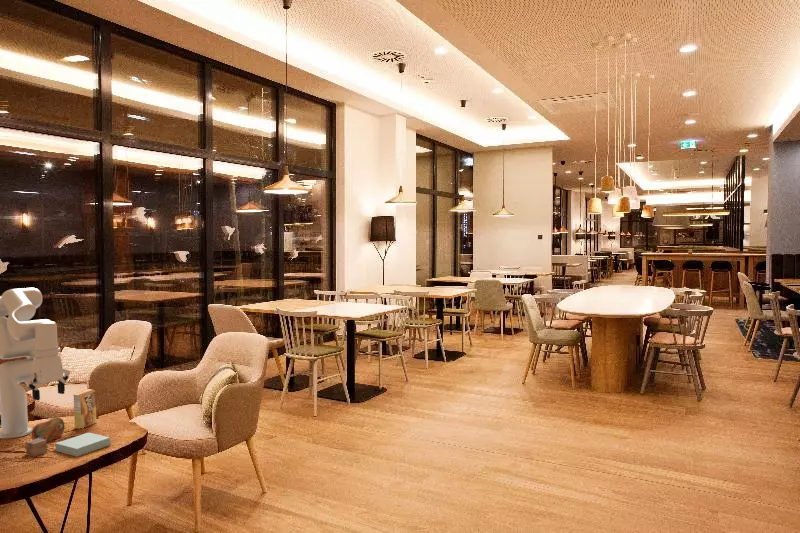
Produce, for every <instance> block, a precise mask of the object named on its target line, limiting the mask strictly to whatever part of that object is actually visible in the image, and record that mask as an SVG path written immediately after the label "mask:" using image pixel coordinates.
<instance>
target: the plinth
mask: <svg viewBox="0 0 800 533" xmlns="http://www.w3.org/2000/svg"><path fill="white" fill-rule="evenodd" d="M110 445H111V437H109V436H105V435H102V434H101V435H100V434H97V433H92V432H85V433H83V434H79V435H77V436H74V437H70V438H67V439H64V440H61V441H59V442H55V443H54V446H55V452H59V453H63V454H67V455H70V456H73V457H79V456H83V455H86V454H89V453H91V452H94V451H96V450H100V449H102V448H106V447H109V446H110ZM88 452H89V453H88ZM85 453H86V454H85ZM82 454H83V455H82Z"/></svg>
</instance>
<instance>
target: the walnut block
mask: <svg viewBox="0 0 800 533" xmlns="http://www.w3.org/2000/svg"><path fill="white" fill-rule="evenodd" d="M47 444H48V442H47V443H46V440H44V439H41V438H38V439H34V440H32V439H31V440H28V441H25V450H26V452H25V453H26V456H27V455H28V456H31V457H36V456H40V455H43V454H45V453H48V448H47Z"/></svg>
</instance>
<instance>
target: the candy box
mask: <svg viewBox="0 0 800 533" xmlns="http://www.w3.org/2000/svg"><path fill="white" fill-rule="evenodd" d="M96 400H97V399H96V389H90V388H89V389H85V390H83V391H80V392H76V393H74V394H73V411H74V412H73V414H74V415H73V417H74V429H80V428H82V429H85V428H86V427H89V426H92V425H94V424H96V423H97V402H96ZM84 427H85V428H84Z"/></svg>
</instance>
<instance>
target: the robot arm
mask: <svg viewBox="0 0 800 533" xmlns="http://www.w3.org/2000/svg"><path fill="white" fill-rule="evenodd" d="M42 303H43V295H42V292H41V291H40V289H38V288H35V287H26V288H25V287H24V288H23V287H22V288H20V287H19V288H10V289H8V290H6V291H4V292H3V293H2V295H0V360H11V359H17V358H23V357H25V358H26V359H18V360H12V361H6V362H3V363H1V364H0V420H1V421H0V429H1V431H0V439H3V440H4V439H5V440H7V439H16V438H21V437H24V436H27V435H29V434H32V430H33V427H30V426H29V422H28V421H29V419H28V418H29V417H28V398H27V397H28V396H27V391H26V390H25V388H24V387H23V386H21V385H20V383H25V384H26V387H27V388H29V389H30V390H31V392H32V395H31V396H32V399H33V400H34V401H40V400H41V397H40V395H41V394H40V393H41V392H40V389H39V388H40V387H41V385H44V384H48V383H53V382H58V383H57V393H58V394H61V395H64V394H65V392H66V388H65V384H66V383H67V381H68V379H69V377H70V374H71V370H68V369H65V368H63V363H62V359H61V355H60V354H59V352H61V351H62V348H60V347H59V345H58V344H59V342H58V325H57V324H58V323H56V322H55V321H52V320H51V319H47V318H44V319H43V318H42V319H33V320H31V319H32V318H33V317H34V316H35V314H36V310H37V309H38V308H40V306H41V305H42ZM7 316H8V317H7Z"/></svg>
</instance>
